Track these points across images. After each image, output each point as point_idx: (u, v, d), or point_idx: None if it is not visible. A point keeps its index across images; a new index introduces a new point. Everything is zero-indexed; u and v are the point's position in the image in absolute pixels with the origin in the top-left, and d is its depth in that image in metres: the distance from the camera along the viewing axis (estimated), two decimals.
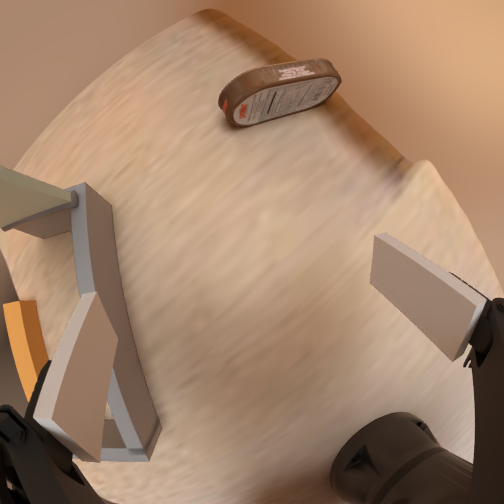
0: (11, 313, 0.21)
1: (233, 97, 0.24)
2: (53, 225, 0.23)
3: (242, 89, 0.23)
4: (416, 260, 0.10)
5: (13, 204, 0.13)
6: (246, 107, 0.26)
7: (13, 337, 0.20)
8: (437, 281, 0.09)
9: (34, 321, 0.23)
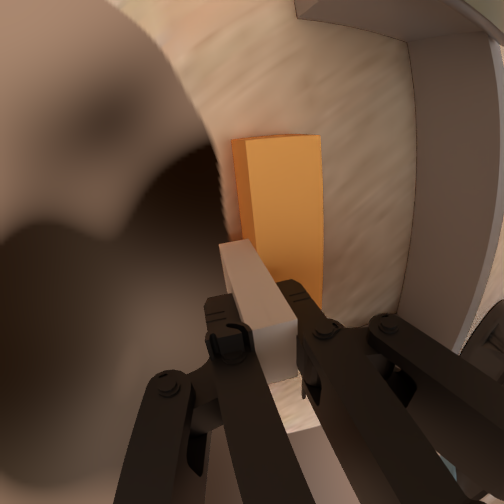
0: (279, 167, 0.11)
1: None
2: (384, 14, 0.09)
3: None
4: (249, 268, 0.11)
5: None
6: None
7: (274, 229, 0.12)
8: None
9: None
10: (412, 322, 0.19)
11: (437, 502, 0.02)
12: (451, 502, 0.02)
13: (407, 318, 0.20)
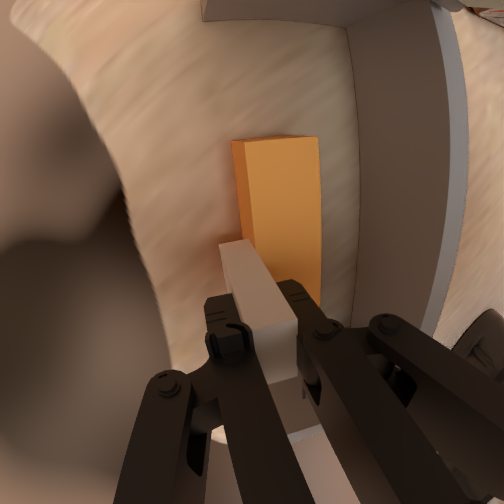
0: (278, 168, 0.11)
1: None
2: None
3: None
4: (249, 268, 0.11)
5: None
6: None
7: (273, 229, 0.12)
8: None
9: None
10: None
11: (437, 502, 0.02)
12: (451, 502, 0.02)
13: None
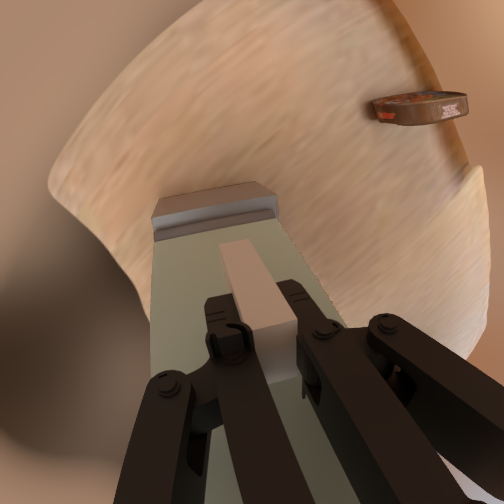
0: None
1: (403, 118, 0.22)
2: None
3: (415, 118, 0.21)
4: (249, 268, 0.11)
5: None
6: None
7: None
8: None
9: None
10: None
11: (437, 502, 0.02)
12: (451, 502, 0.02)
13: None
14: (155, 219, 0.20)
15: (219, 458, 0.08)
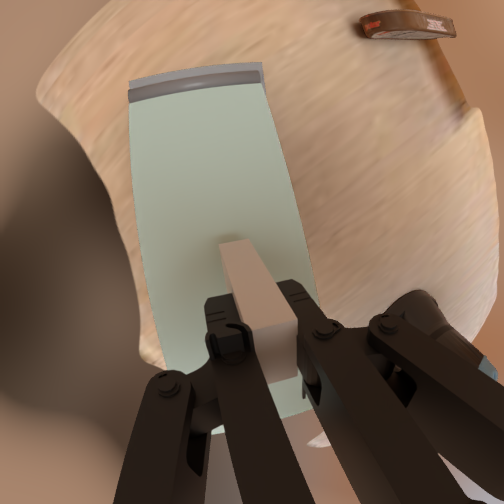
0: None
1: (389, 24, 0.17)
2: None
3: (401, 23, 0.17)
4: (249, 268, 0.11)
5: None
6: (389, 32, 0.19)
7: None
8: None
9: None
10: None
11: (437, 502, 0.02)
12: (451, 502, 0.02)
13: None
14: (133, 82, 0.16)
15: (199, 332, 0.14)
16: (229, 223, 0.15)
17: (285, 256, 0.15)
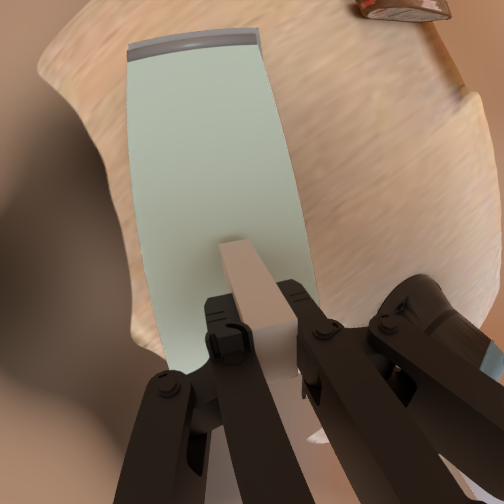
0: None
1: (384, 1, 0.16)
2: None
3: (395, 0, 0.15)
4: (249, 268, 0.11)
5: None
6: (385, 10, 0.18)
7: None
8: None
9: None
10: None
11: (437, 502, 0.02)
12: (451, 502, 0.02)
13: None
14: (132, 45, 0.14)
15: (188, 278, 0.14)
16: (221, 171, 0.15)
17: (277, 204, 0.15)
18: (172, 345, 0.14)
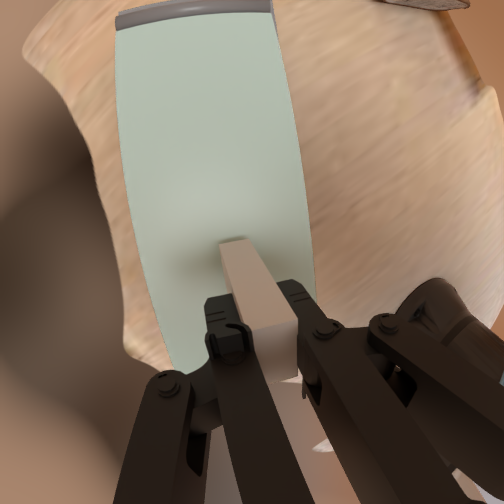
0: None
1: None
2: None
3: None
4: (249, 268, 0.11)
5: None
6: None
7: None
8: None
9: None
10: None
11: (437, 502, 0.02)
12: (451, 502, 0.02)
13: None
14: (123, 12, 0.10)
15: (189, 279, 0.14)
16: (225, 165, 0.13)
17: (282, 203, 0.14)
18: (174, 341, 0.15)
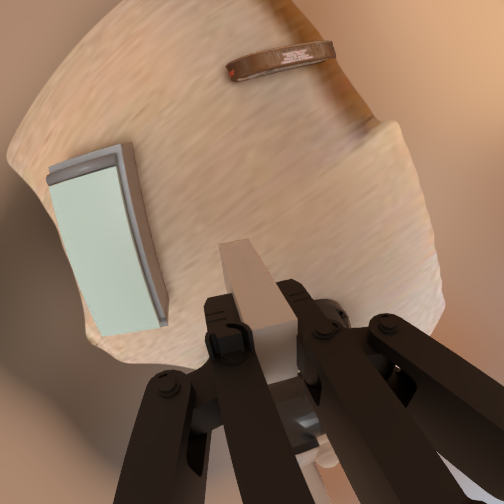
0: None
1: (240, 71, 0.27)
2: None
3: (249, 69, 0.26)
4: (249, 268, 0.11)
5: None
6: None
7: None
8: None
9: None
10: None
11: (437, 502, 0.02)
12: (451, 502, 0.02)
13: None
14: (50, 167, 0.25)
15: (98, 295, 0.31)
16: (104, 253, 0.30)
17: (129, 267, 0.31)
18: (97, 318, 0.32)
